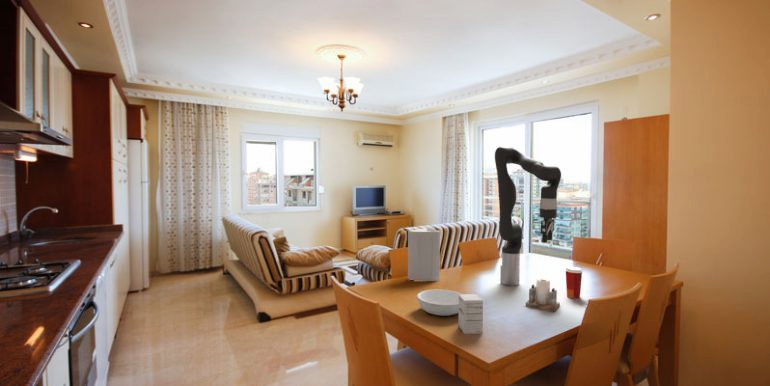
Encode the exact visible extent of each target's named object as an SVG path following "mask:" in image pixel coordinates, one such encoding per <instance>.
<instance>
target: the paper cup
mask: <svg viewBox="0 0 770 386" xmlns="http://www.w3.org/2000/svg"><path fill="white" fill-rule="evenodd" d="M564 272H565V283H566V284H565V285H566V288H565V289H566V297H567V298H570V299H573V300H576V299H577V300H578V299H580V297H581V289H582V288H581V287H582V275H583V272H584V271H583V269H582V268H581V267H576V266H575V267H574V266H567V267H565V269H564Z"/></svg>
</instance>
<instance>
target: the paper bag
mask: <svg viewBox="0 0 770 386" xmlns="http://www.w3.org/2000/svg"><path fill="white" fill-rule="evenodd" d="M440 235H441V231H440V230H437V229H435V228H431V227H424V228H418V229H412V230H411V229H410V230H408V231H407V280H408V279H409V280H408V281H410V280H420V281H419V282H426V281H437V282H439V281H438V280H440V276H441V275H440V272H441V271H440V270H441V269H440V268H441V267H440V266H441V264H440V259H441V251H440V249H441V246H440V245H441V243H440V242H441V241H440V240H441V236H440ZM421 280H422V281H421Z"/></svg>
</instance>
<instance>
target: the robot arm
mask: <svg viewBox="0 0 770 386" xmlns="http://www.w3.org/2000/svg"><path fill="white" fill-rule="evenodd" d="M494 162H495V163H494V164H495V170H496V174H497V185H498V186H497V187H498V190H497V191H498V193H497V194H498V204H499V223H498V224H499V225H498V231H499V232H498V233H499V236H500V238H501V239H502V240H503V241H505V242H506V243H505V244H504V245H503V246H502V247H501V265H500V279H499V281H500V284H503V285H505V286H512V287H513V286H514V287H515V286H519V285H520V275H521V271H520V270H521V269H520V265H521V264H520V261H521V260H520V259H521V258H520V257H521V249H522V243H523V229H522V227H521V225H520V224H519V223H517V222H513V220H512V215H513V211H514V208H515V205H516V202H517V188H516V184H515V183H514V181H513V179H512V178H511V176H510V174H509V171H508V166H507V165H510V164H514V165H518V166H520V167H521V169H522V170H523V171H525V172H527V173H529V174H531V175H534V177H536V179H539V180H540V181H543V182H547V183H546V185H543V186H542V187H541V188H540V201H539V218H542V219H543V220H541V221H540V234H541V242H542V243H543V244H547V243H548V241H552V240H553V235H554V231H555V219H556V218H557V217H558V215H557V214H558V200H557V199H558V188H559V186H560V182H561V179H562V171H561V169H560V168H559V167H558V166H556V165H555V166H551V165H550V166H549V165H548V166H546V165H545V164H544V163H543V162H541V161H539V160H536V159H534V158H531V157H529V156H527V155H525V154H523V153H522V152H520V151H519V150H517V148H514V147H511V146H498V147H497V148H496V150H495V152H494Z"/></svg>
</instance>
